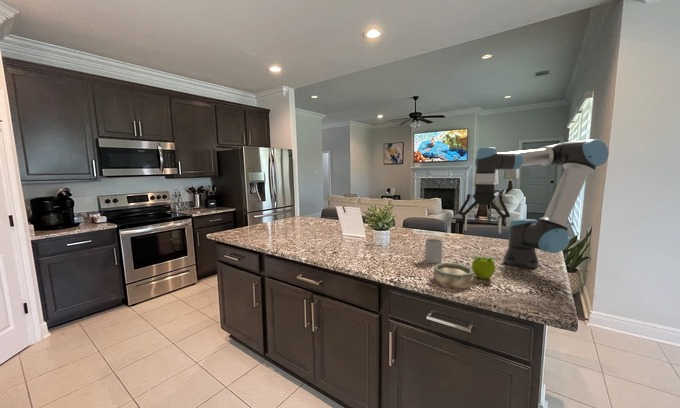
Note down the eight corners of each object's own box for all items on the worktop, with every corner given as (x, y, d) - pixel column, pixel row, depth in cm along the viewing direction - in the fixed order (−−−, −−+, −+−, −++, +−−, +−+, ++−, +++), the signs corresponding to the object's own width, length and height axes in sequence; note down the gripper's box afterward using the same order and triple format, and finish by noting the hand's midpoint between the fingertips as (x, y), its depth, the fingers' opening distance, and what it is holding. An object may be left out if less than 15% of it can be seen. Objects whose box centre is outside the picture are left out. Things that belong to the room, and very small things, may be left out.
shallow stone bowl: (473, 277, 128) (473, 265, 127) (472, 291, 113) (473, 278, 113) (435, 272, 135) (436, 261, 134) (431, 284, 120) (431, 272, 120)
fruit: (493, 283, 122) (495, 260, 120) (470, 278, 126) (471, 257, 125) (495, 276, 129) (496, 254, 128) (472, 272, 134) (474, 251, 133)
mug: (438, 264, 146) (439, 243, 144) (422, 261, 151) (423, 241, 149) (445, 258, 155) (446, 239, 154) (430, 256, 160) (431, 237, 159)
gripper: (517, 183, 122) (513, 232, 125) (454, 182, 133) (452, 227, 135) (519, 184, 115) (515, 235, 118) (453, 183, 126) (451, 230, 129)
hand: (482, 231), depth 127 cm, fingers open, 13 cm apart
